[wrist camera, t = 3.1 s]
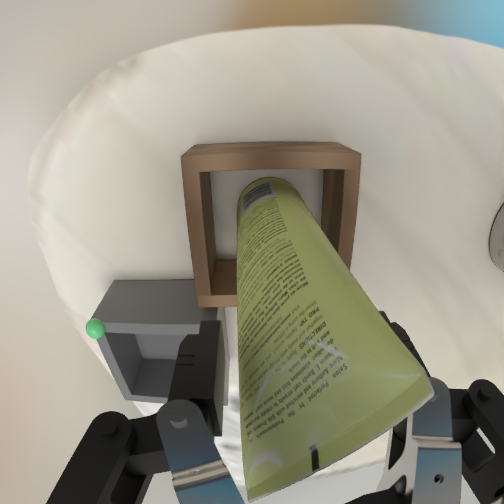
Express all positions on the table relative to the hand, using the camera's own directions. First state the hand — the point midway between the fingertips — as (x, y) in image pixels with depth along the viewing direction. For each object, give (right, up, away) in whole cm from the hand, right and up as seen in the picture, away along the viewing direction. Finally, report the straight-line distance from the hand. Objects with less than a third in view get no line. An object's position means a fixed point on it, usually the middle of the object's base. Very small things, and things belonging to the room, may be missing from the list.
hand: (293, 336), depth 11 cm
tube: (0, +6, +13) cm, 14 cm away
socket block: (-9, -4, +17) cm, 20 cm away
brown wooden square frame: (0, +6, +12) cm, 14 cm away
